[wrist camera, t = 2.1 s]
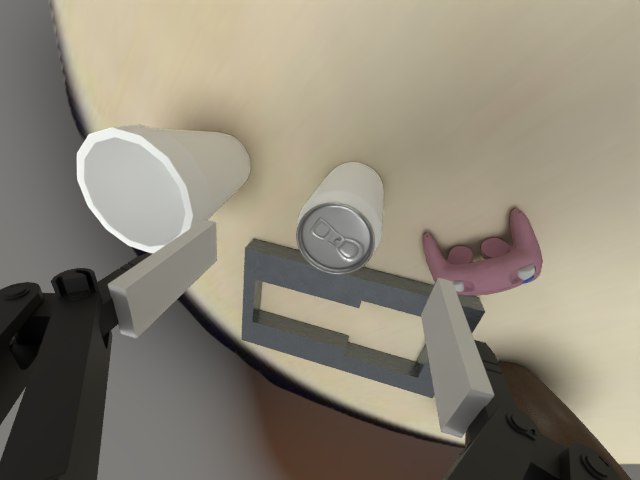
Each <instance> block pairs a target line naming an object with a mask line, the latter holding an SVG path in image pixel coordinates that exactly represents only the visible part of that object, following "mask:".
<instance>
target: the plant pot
mask: <svg viewBox="0 0 640 480" xmlns="http://www.w3.org/2000/svg"><path fill="white" fill-rule="evenodd" d="M498 364H499V366H500V368H501V371H502V375H504V377H505V380H506V382H507V384H508V387H509V389H510V391H511V394H512V396H513V398H514V401H515V403H516V405H517V408H518V409H520V410H521V411H523V412H524V413H526V414H527V415H528V416H529V417H530V418H531V419H532V420H533V422H534V423H535V424H536V426H537V427H538V429H539V432H540V433H541V434H543V435H544V436H546V437H548V438H550V439H551V440H553V441H555V442H557V443H559V444H560V445H562V446H564V447H566V448H568V447H569V446H570V445H571V444H574V443H580V444H584V445H586V446H588V447H590V448H592V449H593V450H595V451H596V452H598V453H599V454H600V455H602V456H603V457H604V458H605V459H606V460H607V461H608V462H609V463H610V464H611V465H612V467H613V468H614V469H615V471H616V472H617V474H618V475H619V477H620V479H621V480H631V479H630V477H629V476H628V475H627V474H626V472H625V471H624V470H623V469H622V468H621V466H620V465H619V464H618V463H617V462H616V460H615V459H614V458H613V457H612V456H611V455H610V453H609V452H608V451H607V450H606V449H605V448H604V446H603V445H602V444H601V443H600V442H599V441H598V439H597V438H596V437H595V436H594V435H593V434H592V433H591V432H590V431H589V430H588V428H587V427H586V426H585V425H584V424H583V423H582V422H581V421H580V420H579V419H578V418H577V417H576V415H575V414H574V413H573V412H572V411H571V410H570V409H569V408H568V407H567V406H566V405H565V404H564V403H563V402H562V401H561V400H560V399H559V398H558V397H557V396H556V395H555V394H554V393H553V392H552V391H551V390H550V389H549V388H548V387H547V386H546V385H544V384H543V383H542V382H541V381H540V380H539V379H538V378H537V377H536V376H535V375H533V374H532V373H531V372H530V371H529V370H527V369H526V368H524V367H522V366H519V365H516V364H512V363H498ZM470 441H471V440H470V436H469V432H468V430H467V431H466V438H465V447H466V446H467V445H468V444H469V443H470Z"/></svg>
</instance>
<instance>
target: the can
mask: <svg viewBox="0 0 640 480" xmlns="http://www.w3.org/2000/svg"><path fill="white" fill-rule="evenodd" d="M383 200H384V189H383V184H382V181H381V179H380V177H379V175H378V174H377V173H376V172H375V171H374V170H373V169H372V168H371V167H369V166H367V165H365V164H362V163H358V162H348V163H344V164H341V165H339V166H337V167H336V168H334V169H333V170H332V171H331V172H330V173H329V174H328V176H327V177H326V178H325V179H324V180H323V182H322V183H321V184H320V185H319V187H318V188H317V189H316V190H315V192H314V193H313V194H312V196H311V197H310V198H309V199H308V201H307V202H306V203H305V205H304V206H303V208H302V210H301V212H300V214H299V217H298V223H297V233H296V238H297V244H298V247H299V250H300V252H301V254H302V255H303V257H304V258H305V259H306V260H307V261H308V262H309V263H310V264H311V265H312V266H314V267H315V268H317V269H319V270H321V271H324V272H327V273H331V274H347V273H351V272H354V271H356V270H358V269H360V268H361V267H363V266H364V265H365V264H366V263H367V262H368V261H369V259H370V258H371V256H372V255H373V254H374V252H375V251H376V249H377V247H378V245H379V243H380V239H381V234H382V221H383Z"/></svg>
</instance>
